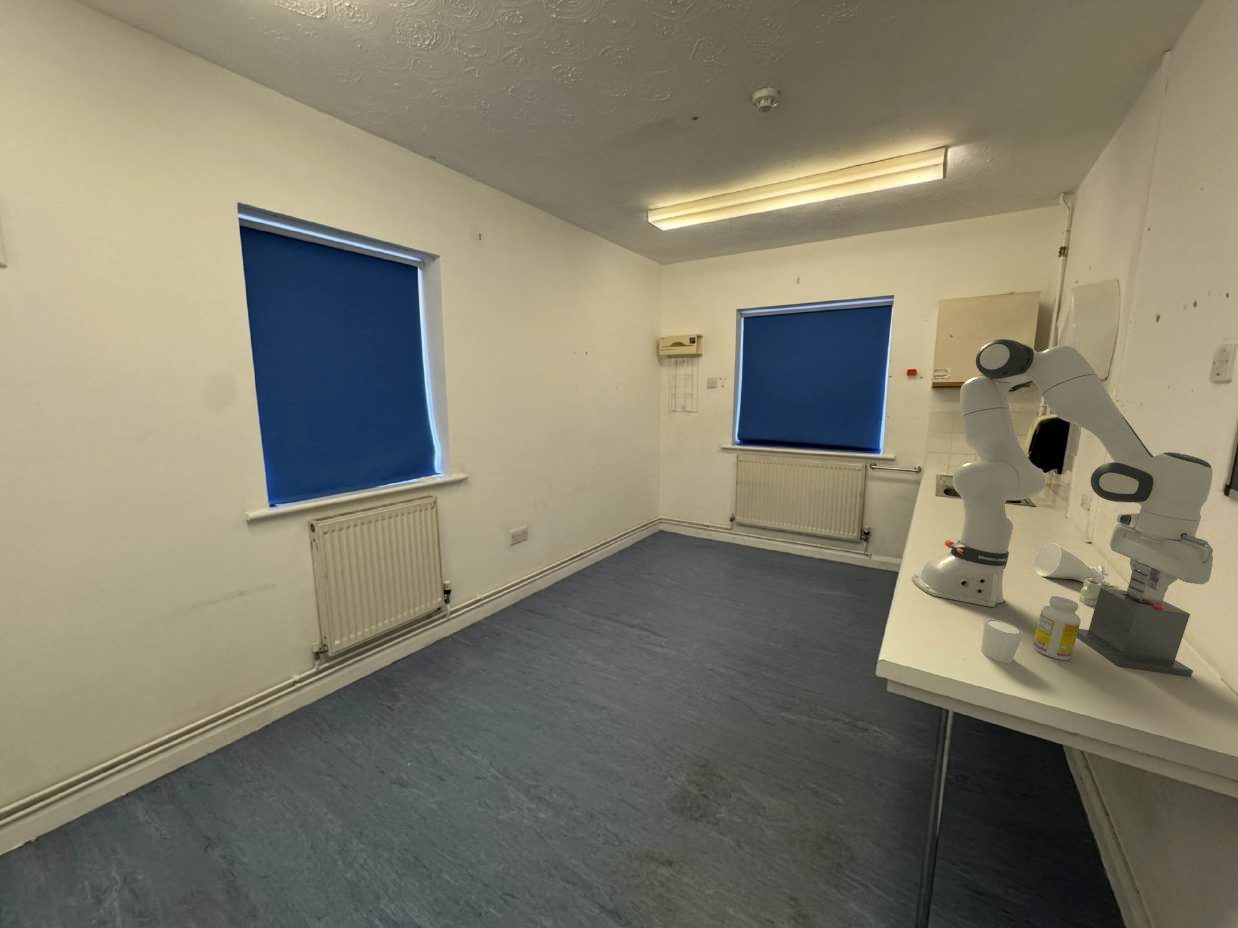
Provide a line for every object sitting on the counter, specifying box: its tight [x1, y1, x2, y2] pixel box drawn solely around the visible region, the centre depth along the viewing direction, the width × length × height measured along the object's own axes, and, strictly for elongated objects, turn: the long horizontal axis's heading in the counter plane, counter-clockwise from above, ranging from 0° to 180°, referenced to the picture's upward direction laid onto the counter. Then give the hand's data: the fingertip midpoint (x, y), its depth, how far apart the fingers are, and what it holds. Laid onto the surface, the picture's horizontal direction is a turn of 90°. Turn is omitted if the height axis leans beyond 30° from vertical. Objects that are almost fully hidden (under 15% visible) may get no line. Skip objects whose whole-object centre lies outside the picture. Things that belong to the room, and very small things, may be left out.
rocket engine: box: [1033, 542, 1111, 588], centre depth 156 cm, size 12×12×18 cm
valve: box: [1078, 580, 1104, 607], centre depth 136 cm, size 7×7×12 cm
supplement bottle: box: [1032, 595, 1081, 661], centre depth 109 cm, size 7×7×13 cm
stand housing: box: [1076, 587, 1194, 678], centre depth 111 cm, size 14×14×14 cm
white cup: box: [980, 618, 1024, 664], centre depth 107 cm, size 7×7×7 cm
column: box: [1126, 562, 1167, 605], centre depth 110 cm, size 4×4×20 cm
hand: (1147, 585), depth 109 cm, fingers closed on column, 4 cm apart
